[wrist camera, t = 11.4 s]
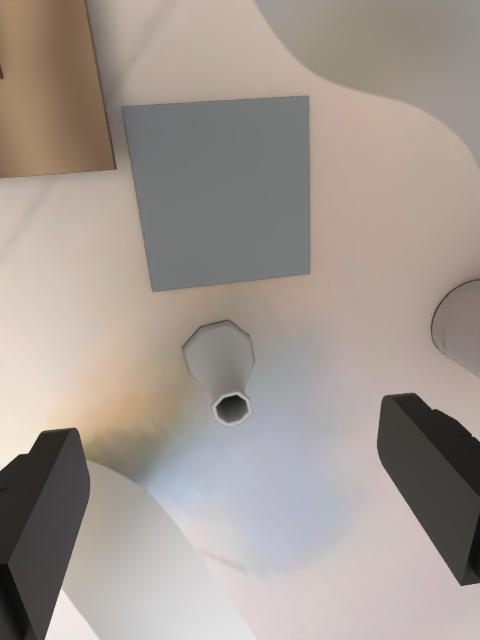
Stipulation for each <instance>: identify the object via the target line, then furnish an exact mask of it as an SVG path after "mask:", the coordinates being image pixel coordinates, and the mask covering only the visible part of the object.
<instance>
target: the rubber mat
mask: <svg viewBox="0 0 480 640" xmlns="http://www.w3.org/2000/svg"><path fill="white" fill-rule="evenodd" d="M122 112H123V118H124V124H125V130H126V136H127V142H128V148H129V154H130V160H131V166H132V172H133V178H134V184H135V190H136V196H137V202H138V208H139V214H140V220H141V226H142V232H143V238H144V244H145V250H146V256H147V262H148V268H149V274H150V280H151V286H152V292H157V291H166V290H175V289H183V288H192V287H201V286H209V285H218V284H227V283H236V282H244V281H253V280H262V279H270V278H279V277H288V276H296V275H305V274H310V167H309V96H296V97H279V98H261V99H244V100H227V101H209V102H192V103H175V104H158V105H140V106H123V107H122Z"/></svg>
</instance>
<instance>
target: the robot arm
mask: <svg viewBox="0 0 480 640" xmlns="http://www.w3.org/2000/svg"><path fill="white" fill-rule="evenodd" d="M432 336H433V340H434V343H435V345H436V346H437V348H438V349H439V350H440V351H441V352H442V353H444V354H445V355H447V356H448V357H450V358H451V359H453V360H454V361H455V362H457V363H458V364H460V365H461V366H463V367H464V368H466V369H467V370H468V371H470V372H471V373H473V374H474V375H476V376H477V377H479V378H480V280H477V281H472V282H468V283H465V284H463V285H462V286H460V287H458V288H456V289H455V290H454V291H453V292H451V293H450V294H449V295H448V296H447V297H446V298H445V299H444V300H443V302H442V303H441V305H440V306H439V308H438V309H437V312H436V314H435V316H434V320H433V324H432ZM377 449H378V454H379V458H380V460H381V463H382V465H383V467H384V468H385V470H386V471H387V473H388V474H389V476H390V477H391V479H392V481H393V482H394V484H395V485H396V487H397V488H398V490H399V491H400V493H401V494H402V496H403V498H404V499H405V501H406V502H407V504H408V505H409V507H410V508H411V510H412V511H413V513H414V515H415V516H416V518H417V519H418V521H419V522H420V524H421V525H422V527H423V528H424V530H425V532H426V533H427V535H428V536H429V538H430V539H431V541H432V542H433V544H434V545H435V547H436V548H437V550H438V552H439V553H440V555H441V556H442V558H443V559H444V561H445V562H446V564H447V565H448V567H449V569H450V570H451V572H452V573H453V575H454V576H455V578H456V579H457V581H458V582H459V584H460V586H464V585H471V584H477V583H480V442H479V441H478V440H477V439H476V438H475V437H472V434H471V433H470V432H469V431H468V430H467V429H466V428H464V427H463V426H462V425H461V424H460V423H459V422H458V421H457V420H455V419H454V418H452V417H450V416H448V415H446V414H445V413H443V412H441V411H439V410H437V409H434V410H432V409H431V408H430V407H429V406H428V405H427V404H426V403H425V402H424V401H423V400H422V399H421V398H420V397H419V396H418V395H417V394H415V393H404V394H395V395H386V396H384V397H383V399H382V403H381V411H380V420H379V429H378V438H377ZM89 493H90V477H89V472H88V468H87V464H86V459H85V455H84V451H83V447H82V443H81V439H80V435H79V432H78V430H77V429H76V428H66V429H56V430H47V431H42V432H41V433H40V435H39V436H38V438H37V440H36V441H35V443H34V445H33V447H32V448H31V450H30V452H29V454H20V455H18V456H17V457H16V458H15V459H14V460H12V461H11V462H10V463H9V464H8V465H7V466H6V467H4V468H3V469H2V470H1V471H0V640H45V637H46V633H47V630H48V627H49V624H50V621H51V617H52V614H53V611H54V608H55V605H56V602H57V598H58V595H59V592H60V589H61V586H62V583H63V579H64V576H65V573H66V570H67V567H68V564H69V560H70V557H71V554H72V551H73V548H74V545H75V541H76V538H77V535H78V532H79V529H80V526H81V522H82V519H83V516H84V513H85V510H86V506H87V503H88V500H89Z"/></svg>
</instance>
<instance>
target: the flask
mask: <svg viewBox="0 0 480 640" xmlns="http://www.w3.org/2000/svg"><path fill="white" fill-rule="evenodd" d="M182 350H183V354H184V357H185V361H186V364H187V368H188V371H189V373H190V374H191V376H193V377H194V378H195V379H196V380H197V381H198V382H199V383H200V384H201V385H202V386H203V387H204V388H205V389H206V390H207V391H208V392H209V393H210V394H211V396H212V398H213V400H214V401H213V402H212V403H211V407H212V411H213V415H214V418H215V420H216V421H217V422H219V423H221V424H222V425H224V426H225V427H231V426H235V425H239V424H242V423H243V422H244V421H245V420H246V419H247V418H248V417H249V416H250V415H251V414H252V413H253V411H252V407H251V402H250V398H249V397H248V396H247V395H246V394H245V386H246V383H247V380H248V377H249V375H250V372H251V370H252V368H253V365H254V362H255V360H254V355H253V350H252V345H251V340H250V337H249V336H248V335H247V334H245V333H244V332H243V331H242V330H240V329H239V328H238V327H236V326H235V325H234V324H233V323H231V322H230V321H225V322H221V323H216V324H212V325H208V326H204V327H200V328H199V330H198V331H197V332H196V333H195V334H194V335H193V336H192V338H191V339H190V340H189V341H188V342H187V343H186V344H185V345H184V347H183V348H182Z"/></svg>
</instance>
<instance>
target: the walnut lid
mask: <svg viewBox="0 0 480 640" xmlns="http://www.w3.org/2000/svg"><path fill="white" fill-rule="evenodd" d="M114 169H117V167H116V162H115V156H114V151H113V145H112V139H111V134H110V128H109V123H108V117H107V112H106V106H105V101H104V95H103V90H102V84H101V79H100V73H99V68H98V62H97V56H96V51H95V45H94V40H93V34H92V29H91V23H90V18H89V12H88V7H87V1H86V0H0V178H11V177H24V176H37V175H50V174H63V173H76V172H89V171H102V170H114Z"/></svg>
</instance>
